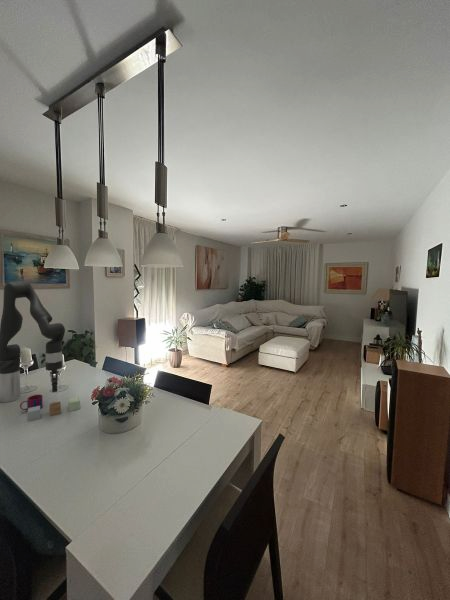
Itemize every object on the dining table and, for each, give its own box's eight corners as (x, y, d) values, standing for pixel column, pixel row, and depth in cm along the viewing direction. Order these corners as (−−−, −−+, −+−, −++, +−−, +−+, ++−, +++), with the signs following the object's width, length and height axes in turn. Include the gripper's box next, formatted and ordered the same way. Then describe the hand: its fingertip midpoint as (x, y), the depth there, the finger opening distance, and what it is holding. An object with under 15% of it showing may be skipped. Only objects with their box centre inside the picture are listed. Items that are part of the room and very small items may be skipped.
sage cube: (68, 407, 138) (68, 399, 137) (78, 405, 141) (78, 397, 140) (69, 411, 134) (69, 403, 134) (79, 409, 137) (79, 400, 136)
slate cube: (28, 417, 127) (28, 408, 127) (40, 414, 130) (40, 405, 130) (27, 421, 123) (27, 412, 123) (40, 418, 126) (40, 409, 126)
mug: (43, 408, 136) (43, 397, 135) (21, 415, 128) (20, 403, 128) (40, 404, 140) (40, 393, 140) (18, 411, 133) (18, 399, 132)
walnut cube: (49, 412, 132) (49, 403, 132) (60, 409, 135) (60, 401, 135) (49, 416, 128) (49, 407, 128) (60, 413, 131) (60, 404, 131)
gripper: (45, 357, 133) (46, 386, 134) (45, 364, 122) (45, 395, 123) (61, 355, 138) (62, 383, 139) (62, 362, 126) (63, 392, 127)
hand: (54, 388), depth 131 cm, fingers open, 8 cm apart
